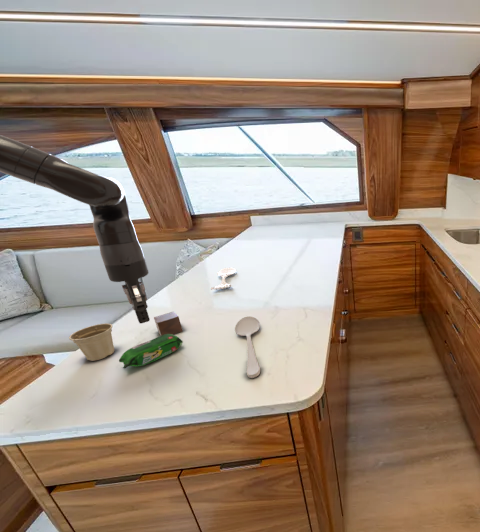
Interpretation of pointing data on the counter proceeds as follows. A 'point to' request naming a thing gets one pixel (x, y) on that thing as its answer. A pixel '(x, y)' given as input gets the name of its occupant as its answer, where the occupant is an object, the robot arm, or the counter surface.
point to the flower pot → (94, 341)
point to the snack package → (151, 350)
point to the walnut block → (168, 323)
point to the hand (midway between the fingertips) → (144, 321)
